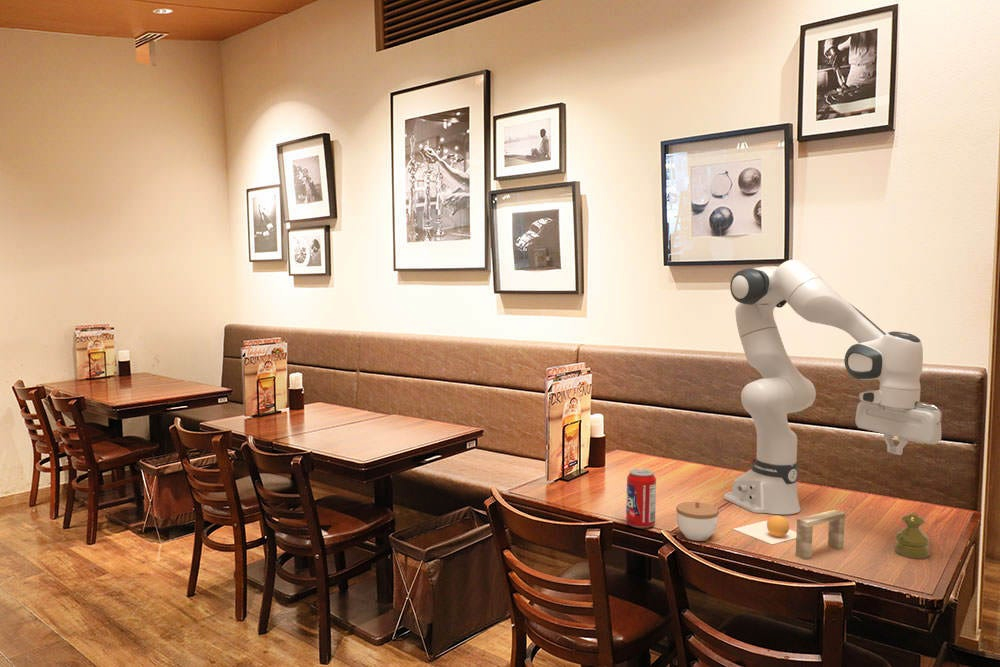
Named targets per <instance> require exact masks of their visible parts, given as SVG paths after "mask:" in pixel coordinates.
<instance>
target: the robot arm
mask: <svg viewBox="0 0 1000 667" xmlns="http://www.w3.org/2000/svg"><path fill="white" fill-rule="evenodd" d="M729 286H730V288H729V289H730V293H731V296H732V297H733V299H734V300H735V301H736V302H737V303H738V304H737V305H736V307H735V321H736V327H737V332H738V335H739V338H740V342H741V345H742V348H743V352H744V355H745V358H746V361H747V363H748V364H749V365H750V366H751V367H752V368H754V369H756V371H758V372H759V374H760V375H761V376H762V378H759V379H755V380H754V381H751V382H749V383H747V384H746V385H744V387H743V389H742V390H741V392H740V394H741V395H740V401H741V405H742V407H743V409H744V410H745V411H746V412H747V413H748V414H749V415H750V417H751V418H752V421H753V423H754V427H755V432H756V457H755V458H753V459H748V461H749V462H748V464H752V465H751V468H750V469H748V471H746V472H744V473H742V474H741V475H739V476H737V477H736V478H735V479H734V481H733V483H732V487H731V490H730V491H728V492H726V493H724V495H723V499H724V500H727V501H729V502H730V503H733V504H734V505H736V506H739V507H741V508H743V509H745V510H748V511H750V512H752V513H758V514H771V515H794V514H797V513H800V512H801V506H800V502H799V501H800V500H799V496H798V495H799V494H798V486H797V480H798V479H797V478H798V474H799V473H798V472H799V463H798V461H797V456H798V436H797V434H796V433H795V431H793V430H792V429H791V428H790V425H789V421H788V414H793V413H799V412H801V411H804V410H806V409H807V408H809V407H811V406H812V405H813V404H814V402H815V400H816V396H817V393H816V388H815V385H814V384H813V382H812V381H811V380H810V379H809V378H807V377H805V376H804V375H803V374H802V373H801V372H800V371H799V370H798V368H797V367H796V366H795V365H794V363H793V362H792V360H791V358H790V357H789V354H788V353H787V351H786V349H785V348H786V347H785V346H784V343H783V341H782V338H781V335H780V332H779V329H778V328H779V327H778V325H777V323H776V320H775V316H774V310H775V308H783V307H784V306H785V305H786V304H788V306H790V308H792V310H793V311H794V312H795V313H796V314H797V315H798V316H800V318H802V319H804V320H805V321H808V322H810V323H815V324H820V325H825V326H830V327H833V328H836V329H839V330H841V331H844V332H846V333H847V334H848V335H850V336H851V337H852V338H853V339H854V340H855V341H856V342H858V343H856V344H853V345H851V346H850V347H849V348H848V349H847V350H846V353H845V355H844V366H845V369H846V371H847V373H848V374H849V375H850V376H851V377H853V378H854V379H856V380H861V381H871V380H875V381H876V380H878V381H879V388H876V389H873V390H867V391H863V392H860V393H859V403H858V404H857V407H856V412H855V420H854V421H855V425H856V427H857V428H858V429H861V430H862V429H863V430H867V431H872V432H876V433H880V434H883V440H884V442H885V444H886V447H887V448H886V452H887V453H890V454H893V455H897V456H902V455H903V451H904V450H903V449H904V448H905V446H906V445H907V444H908V443H909V440H910V441H915V442H919V443H923V444H928V445H936V444H938V443H939V442H940V441H941V440H942V417H943V416H942V415H943V414H942V411H941V410H940V408H938V407H937V405H935V404H929V403H924V402H920V401H921V387H922V386H921V382H920V378H921V375H922V372H923V364H924V363H923V362H924V360H923V359H924V353H923V352H924V349H923V343H922V341H921V339H920V338H919V337H918V336H916V335H915V334H911V333H908V332H902V331H889V332H887V333H886V332H884V331H883V330H882V329H881V328H880V327H879V326H877V324H875V323H874V322H873V321H872V320H871V319H870V318H868V317H867V316H866V314H864V313H863V312H862V311H860V310H859V309H858V308H856V307H855V306H854V305H853V304H851V303H850V302H849V301H847V300H846V299H845V298H844V297H842V295H840V294H839V293H838V292H836V290H834V289H833V288H832V287H831V286H830V285H829V284H828V283H827V282H826V281H825V280H824V279H823V278H822V277H821V276H820V275H819V274H818V273H817V272H816V271H814V269H812V268H811V267H809V266H808V265H807V264H805V263H803V262H802V261H801V260H798V259H789V260H786V261H784V262H782V263H781V264H780V265H778V266H777V265H776V266H775V265H767V266H766V265H764V266H760V267H759V266H758V267H753V268H752V267H748V268H743V269H741V270H738V271H737V272H736V273H734V274H733V276H732V277H731V280H730V284H729ZM895 437H897V442H899V443H898V444H897V445H895V444H894V441H893V439H894V438H895Z"/></svg>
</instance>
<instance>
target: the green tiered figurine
mask: <svg viewBox="0 0 1000 667" xmlns="http://www.w3.org/2000/svg"><path fill="white" fill-rule="evenodd" d="M901 520H902V521H903V522H904V523H905V525H906V527H904V528H903V529H902V530H900V531H898V532H896V533H895V537H894V538H895V540H896V541H895V542H894V545H895V546H894V551H895V552H896V553H897V554H898V555H900V556H901V557H905V558H908V559H915V560H923V559H927V558H928V557H929V554H930V547H929V545H930V541H931V540H930V538H929V537H928V536H927V535H926V534H925V533H924V532H922V530H921V529H920V527H921V526H922V525H924V524H925V522H926V520H925V519H924V518H923V517H921V516H919V515H918V514H916V513H909V514H905V515H902V517H901Z"/></svg>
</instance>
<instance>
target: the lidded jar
mask: <svg viewBox="0 0 1000 667" xmlns="http://www.w3.org/2000/svg"><path fill="white" fill-rule="evenodd" d="M675 509H676V510H675V511H676V522H677V526H678V528H679V530H680V532H681V533H682V535H684V537H685V538H686V539H688V540H692V541H694V542H695V541H697V542H702V541H707V540H709V538H710V537H711V536H712V535H713V534H714V533H715V532H716V529H717V526H718V522H719V508H718V507H716V506H715V505H713V504H709V503H706V502H700V501H697V500H696V501H685V502H681V503H678V504H677V505H676V508H675Z"/></svg>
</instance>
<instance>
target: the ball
mask: <svg viewBox="0 0 1000 667" xmlns="http://www.w3.org/2000/svg"><path fill="white" fill-rule="evenodd" d="M767 529H768V531H769V532H770V534H772V535H773V536H775V537H783V536H785V535H786V534H787V533H788V531H789V530H790V524H789V522H788V520H787V519H786V518H785V517H784V516H781V515H773V516H771V517H769V519H768V520H767Z"/></svg>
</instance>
